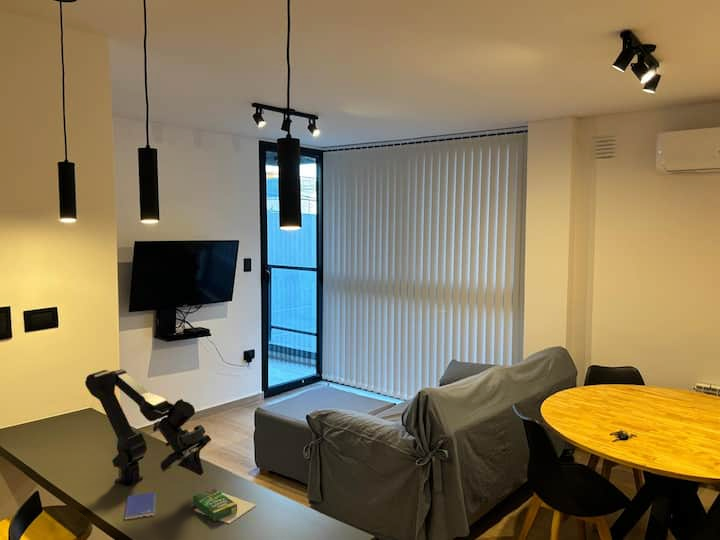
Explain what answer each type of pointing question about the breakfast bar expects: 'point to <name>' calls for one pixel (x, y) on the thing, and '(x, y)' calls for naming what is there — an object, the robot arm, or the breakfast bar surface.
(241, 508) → the mat
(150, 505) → the hard drive
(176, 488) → the breakfast bar surface
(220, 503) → the coffee box
